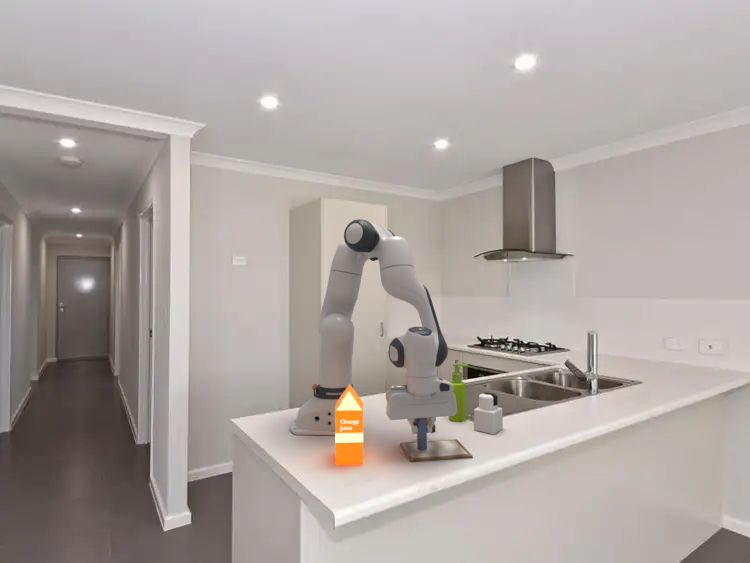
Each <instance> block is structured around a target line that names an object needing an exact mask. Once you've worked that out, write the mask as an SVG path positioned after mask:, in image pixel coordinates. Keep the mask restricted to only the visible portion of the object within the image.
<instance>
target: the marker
mask: <svg viewBox="0 0 750 563" xmlns="http://www.w3.org/2000/svg"><path fill="white" fill-rule="evenodd" d="M417 427H418V434H416V442H417V449H418V450H421V451H424V450H427V441H428V433H427V418H417Z"/></svg>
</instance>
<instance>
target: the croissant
mask: <svg viewBox="0 0 750 563" xmlns="http://www.w3.org/2000/svg"><path fill="white" fill-rule="evenodd" d="M429 422H430V419H429V418H427V425H428V424H429ZM412 423H413V425H414V426H417V418H415V419H414V422H412ZM435 431H436V424H435V423H434V425H433V427H432V433H434V432H435Z"/></svg>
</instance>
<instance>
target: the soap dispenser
mask: <svg viewBox="0 0 750 563" xmlns="http://www.w3.org/2000/svg"><path fill="white" fill-rule="evenodd" d="M452 366H453V367H454V371H453V372H452V378H451V379H452V381H449V382H450V383H451V384H452V385H453V391H452V392H453V393H454V394H455V397H456V403H457V413H456V414H455V415H454V416H448V420H449V421H450V422H454V423H462V422H465V421H466V398H467V397H466V382H464V381H463V373H462V372H460V367H464V368H465V367H466V368H468V367H469V364H466V363H458V362H457V363H453V364H452Z"/></svg>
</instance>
